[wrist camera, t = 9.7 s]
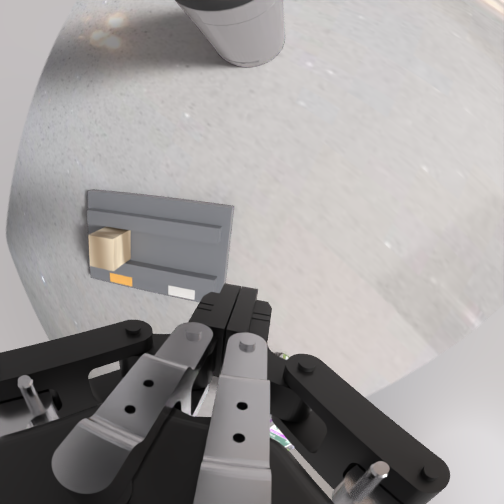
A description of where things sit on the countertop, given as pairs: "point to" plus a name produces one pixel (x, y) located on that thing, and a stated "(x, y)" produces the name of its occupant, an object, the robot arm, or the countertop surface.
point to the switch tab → (109, 248)
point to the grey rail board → (165, 242)
